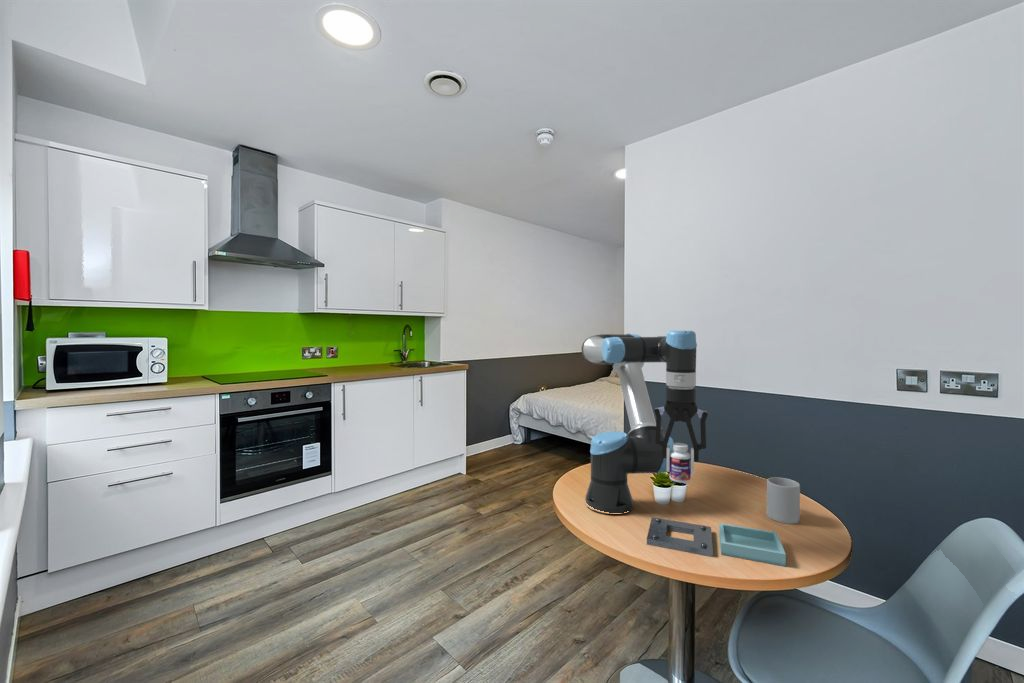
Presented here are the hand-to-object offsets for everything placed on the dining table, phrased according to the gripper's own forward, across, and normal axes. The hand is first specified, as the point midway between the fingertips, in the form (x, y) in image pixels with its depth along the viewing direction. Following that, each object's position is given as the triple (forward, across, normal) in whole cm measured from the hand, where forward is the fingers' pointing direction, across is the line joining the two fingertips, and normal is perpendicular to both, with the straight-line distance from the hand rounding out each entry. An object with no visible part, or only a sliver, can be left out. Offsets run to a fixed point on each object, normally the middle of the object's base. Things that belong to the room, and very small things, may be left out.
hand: (680, 471), depth 116 cm
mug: (+19, +28, +27) cm, 43 cm away
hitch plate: (+19, 0, 0) cm, 19 cm away
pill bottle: (+3, 0, 0) cm, 3 cm away
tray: (+19, +17, +1) cm, 25 cm away
